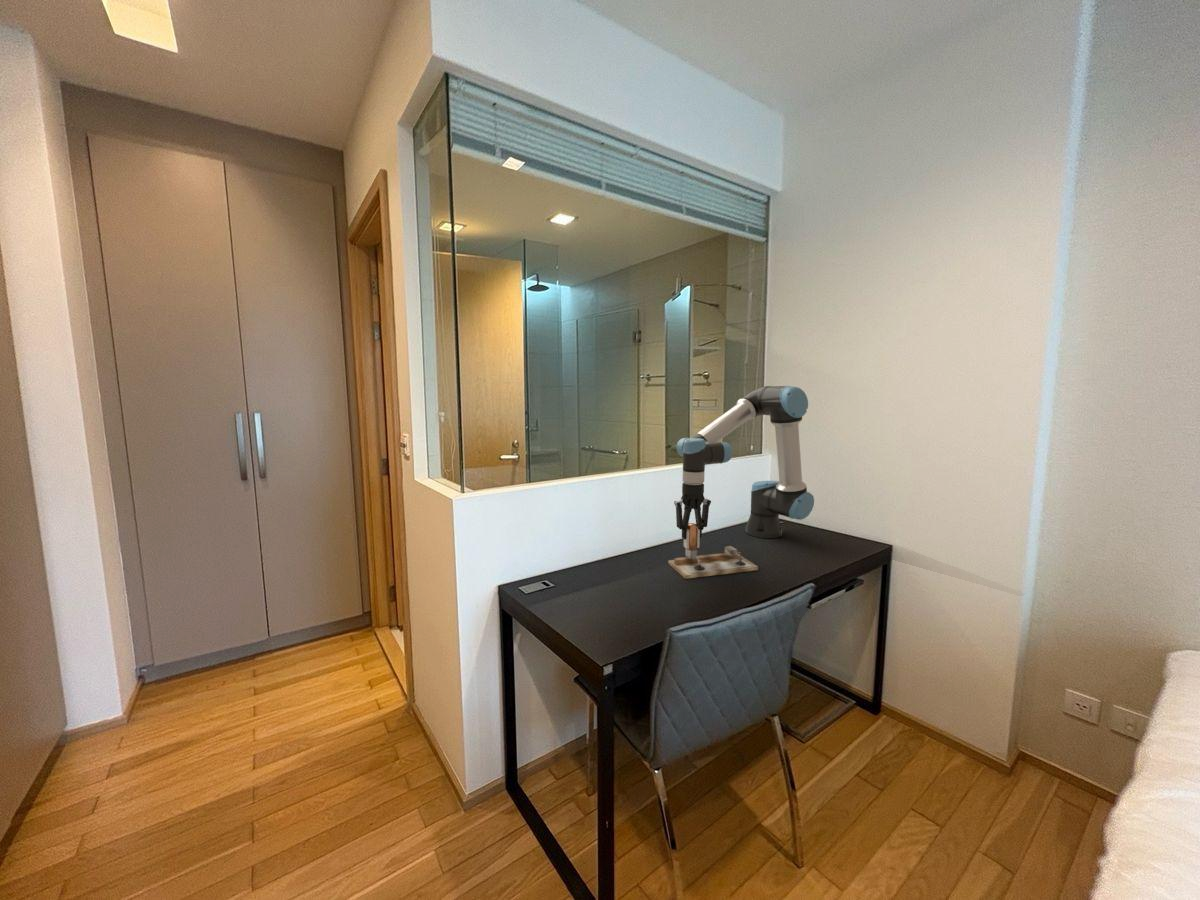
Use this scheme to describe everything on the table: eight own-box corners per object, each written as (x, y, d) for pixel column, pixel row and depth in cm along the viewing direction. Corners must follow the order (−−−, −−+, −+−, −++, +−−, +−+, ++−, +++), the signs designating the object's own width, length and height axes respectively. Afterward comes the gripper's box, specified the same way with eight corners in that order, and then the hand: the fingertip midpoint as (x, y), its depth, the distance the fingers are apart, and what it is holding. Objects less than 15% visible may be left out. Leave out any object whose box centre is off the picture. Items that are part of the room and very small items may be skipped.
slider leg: (692, 557, 173) (693, 522, 171) (704, 567, 165) (705, 529, 163) (684, 558, 172) (685, 523, 170) (695, 568, 164) (696, 530, 162)
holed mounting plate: (736, 556, 181) (736, 543, 180) (758, 569, 167) (758, 556, 167) (668, 563, 173) (668, 550, 172) (685, 578, 160) (685, 564, 159)
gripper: (709, 479, 173) (707, 541, 176) (667, 481, 168) (665, 545, 172) (719, 483, 166) (717, 548, 169) (676, 486, 161) (674, 552, 164)
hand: (691, 546), depth 170 cm, fingers closed on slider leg, 3 cm apart
